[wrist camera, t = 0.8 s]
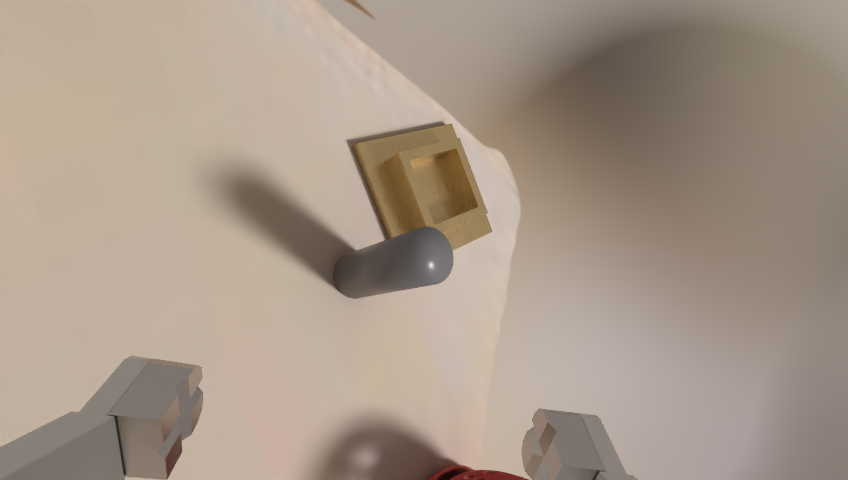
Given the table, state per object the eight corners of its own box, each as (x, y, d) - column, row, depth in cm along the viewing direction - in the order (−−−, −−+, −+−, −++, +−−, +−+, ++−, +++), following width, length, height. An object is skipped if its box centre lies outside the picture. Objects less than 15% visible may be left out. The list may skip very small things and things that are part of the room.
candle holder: (352, 146, 51) (369, 133, 48) (447, 126, 61) (466, 114, 58) (402, 273, 52) (421, 268, 49) (487, 232, 62) (508, 226, 58)
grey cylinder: (326, 262, 46) (397, 236, 35) (364, 247, 49) (440, 219, 38) (343, 305, 46) (419, 293, 35) (380, 288, 50) (460, 272, 39)
